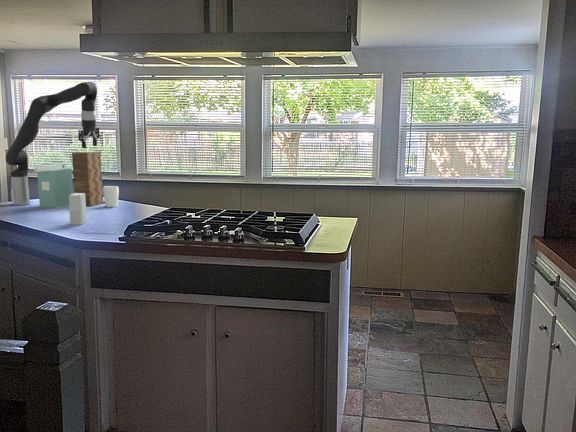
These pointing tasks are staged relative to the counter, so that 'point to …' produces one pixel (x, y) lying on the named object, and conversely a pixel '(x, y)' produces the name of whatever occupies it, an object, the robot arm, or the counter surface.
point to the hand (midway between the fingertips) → (89, 147)
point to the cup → (111, 195)
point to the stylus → (48, 168)
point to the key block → (55, 187)
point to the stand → (88, 176)
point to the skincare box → (77, 208)
